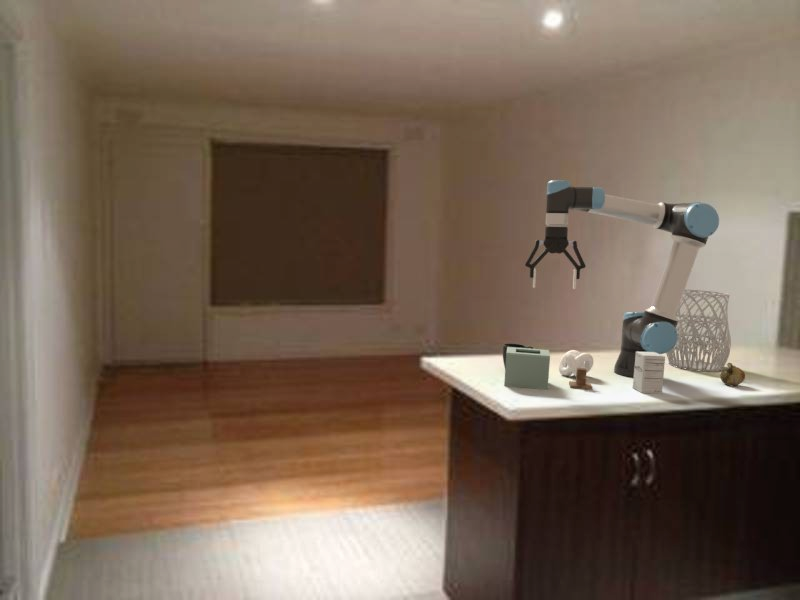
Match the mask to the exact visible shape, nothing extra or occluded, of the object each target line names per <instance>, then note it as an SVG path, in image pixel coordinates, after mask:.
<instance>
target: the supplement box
mask: <svg viewBox="0 0 800 600" xmlns="http://www.w3.org/2000/svg"><path fill="white" fill-rule="evenodd" d="M665 362H666V356H665V355H664V354H658V353H656V352H636V356H635V367H634V377H632V378H633V381H632V389H635V390H637V391H638V392H640V393H642V394H660V395H661V394H662V393H663V385H664V383H663V382H664V374H665V373H664V372H665V364H666V363H665Z"/></svg>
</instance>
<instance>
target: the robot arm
mask: <svg viewBox="0 0 800 600" xmlns="http://www.w3.org/2000/svg"><path fill="white" fill-rule="evenodd" d="M546 185H547V188H546V194H545V195H546V204H545V207H546V208H545V209H546V210H545V211H546V212H545V225H546V226H545V228H544V229H545V230H544V240H540V239H536V240H535V243H534V247H533V249H532V251H531V252H530V254H529V256H528V258H527V259H526V261H525V263H524V265H525V267H527V268H529V277H530V278H531V279H532V288H533V289H536V283H537V281H536V280H537V268H535V267H536V266H537V265H538V264H539V263H540V262H541V261H542V260H543V259H544V257H545V256H546V255H547V254H548V253H550V254H559V255H560V254H562V253H563V254H564V256H565V257H566V258H567V259H568V261H569V262H570V263H571V264H572V265H573V267H574V268H575V269H573V274H572V289H573V290H576V289H577V280H580V274H581V270H582V269H585V268H586V263H585V261H584V260H583V258H582V257H583V256H582V255H581V253H580V251H579V248H578V243H577V242H578V241H576V240H572V241H571V240H570V241H569V240H568V234H569V233H568V232H569V228H568V225H569V212H570V211H574V210H575V211H580V212H585V213H590V214H595V215H601V216H606V217H611V218H616V219H619V220H620V219H621V220H626V221H631V222H635V223H641V224H646V225H651V226H652V228H653V229H656V230H661V231H665V232H668V233H671V238H672V241H673V244H672V246H671V249H670V253H669V255H668V258H667V260H666V263H665V267H664V268H663V269H664V270H663V272H662V275H661V277H660V280H659V283H658V287H657V289H656V292H655V294H654V298H653V300H652V303H651V306H650V307H648V308H646V309H644V312H643V311H642V312H641V311H627V312H625V313H624V314H623V318H622V326H621V327H622V331H621V340H620V353H619V354H618V357H617V359H616V362H615V364H614V369H613V372H614V373H616V374H617V375H621V376H625V377H631V378H634V367H635V356H636V352H656V353H658V354H661V355H664V354H666V353H667V352H669V351H670V350H671V349H673V347H674V346H676V343H677V339H678V331H676V328H677V327H678V325H677V323H678V319H677V316H676V312H677V309H678V307H680V306H679V304H680V301H681V298H682V297H683V295H684V294H683V293H684V290H685V289H686V287H687V284H688V281H689V277H690V276H691V272H692V270H693V267H694V265H695V262H696V258H697V255H698V254H699V251H700V249H702V248H704V247H706V244H707V241H708V239H709V237H710V236H712V235H714V234H715V233H716V232H717V231H718V228H719V225H720V217H719V213H718V211H717V210H716V209H715V207H714V206H712V205H711V204H709V203H706V202H700V201H697V202H696V201H695V202H683V203H682V202H681V203H666V202H661V201H660V202H659V203H651V202H648V201H642V200H638V199H632V198H626V197H620V196H616V195H611V194H606V192H605V190H604V188H603V187H596V186H572V185H571V184H570V181H569V180H566V179H565V180H564V179H562V180H560V179H554V180H553V179H552V180H550V181H548V182H547V184H546ZM569 210H570V211H569ZM542 245H543V246H544V247H545V249H544V250H543V251H542V252H541V254H540V255H539V256H537V257H536V258H535V260H534V261H533V259H534V256H535V255H536V254H537V251H538V249H539V247H542ZM568 246H570V247H571V248H572V249H573V252H574V253H575V256H576V257H577V260H578V261H579V262H578V263H579V264H578V263H577V261H576V260H575V259H574V258H573V257H572V255H571V254H570V253H569V252H568V250H567V247H568ZM532 261H533V262H532ZM531 262H532V263H531ZM676 326H677V327H676ZM677 344H678V343H677ZM674 348H675V347H674Z"/></svg>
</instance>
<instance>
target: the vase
mask: <svg viewBox="0 0 800 600" xmlns="http://www.w3.org/2000/svg"><path fill="white" fill-rule="evenodd" d="M683 295H684V296H682V298H681V301H680V304H679V307H678V309H677V312H676V317H677V319H678V323H677V326H676V331H677V334H678V339H677V343H676V345H675V346H674V347H673V349H671V350H670V351H669V352H667V353H665V354H666V358H667V361H668V364H669V363H670V364H671V365H670V364H669V365H670V366H672V365H673V366H672V367H674V366H677V367H676V368H678V367H681V368H680V369H682V368H686V369H685V370H688V369H692V370H691V371H696V370H700V371H699V372H720V371H719V370H721V371H723V370H722V369H721V367H722V366H723V367H726V366H725V365H727V363H728V360H729V356H730V353H731V346H732V341H731V333H730V329H729V321H728V319H729V318H728V308H729V307H728V306H729V305H728V304H729V299H730V296H731V295H730V293H727V292H721V291H720V292H719V291H714V290H701V289H700V290H699V289H686V288H685V290H684V293H683ZM698 297H700V299H698V300H696V298H698ZM711 298H712V301H709V300H710V299H711ZM689 299H690V300H691V301H690V302H688V304H687V301H688V300H689ZM702 300H703V301H702ZM721 300H722V301H721ZM700 301H701V302H702V303H701V304H699V303H700ZM715 301H716V302H715ZM693 302H694V303H693ZM714 302H715V303H714ZM692 303H693V304H692ZM705 303H707V304H706V306H704V308H702V306H703V305H705ZM713 303H714V305H712V304H713ZM683 304H684V305H685V308H684V310H683V311H682V312H681V307H682V306H683ZM691 304H692V305H691ZM690 305H691V306H690ZM716 305H718V306H717V307H716ZM689 306H690V307H689ZM695 306H697V309H696V310H695V312H694V313H693V314H692V313H691V310H692V309H693V308H694V307H695ZM708 307H710V310H709V312H708V313H707V314H706V315H705V313H704V312H705V310H707V309H708ZM715 307H716V309H714V308H715ZM719 309H720V313H719V315H718V314H717V312H718V310H719ZM699 311H700V313H699V314H698V312H699ZM685 312H686V313H685ZM684 313H685V314H684ZM711 313H712V314H713V315H712V316H710V315H711ZM697 314H698V315H697ZM721 316H722V317H721ZM702 319H703V320H702ZM696 324H697V325H696ZM684 325H685V326H684ZM689 327H690V328H689ZM688 329H689V330H688ZM703 329H706V330H704V332H703ZM699 330H700V332H699ZM714 332H715V333H714ZM690 337H691V338H690ZM698 347H699V351H698ZM706 355H707V359H705V358H706ZM705 360H706V361H705ZM710 361H711V362H710Z"/></svg>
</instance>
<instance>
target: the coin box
mask: <svg viewBox="0 0 800 600" xmlns="http://www.w3.org/2000/svg"><path fill="white" fill-rule="evenodd" d="M550 360H551V354H550V349H542V348H533V349H530V348H516V347H507V352H506V367H504V384H503V386H506V387H515V388H526V389H527V388H528V389H539V390H540V389H541V390H548V389H549V388H548V387H549V378H550V375H549V373H550V362H551V361H550Z"/></svg>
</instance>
